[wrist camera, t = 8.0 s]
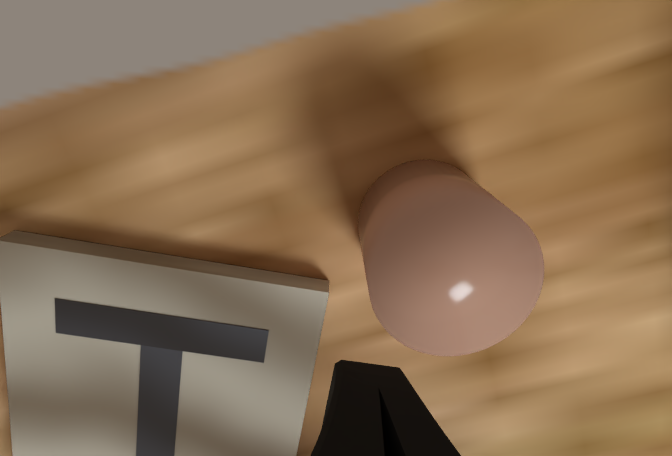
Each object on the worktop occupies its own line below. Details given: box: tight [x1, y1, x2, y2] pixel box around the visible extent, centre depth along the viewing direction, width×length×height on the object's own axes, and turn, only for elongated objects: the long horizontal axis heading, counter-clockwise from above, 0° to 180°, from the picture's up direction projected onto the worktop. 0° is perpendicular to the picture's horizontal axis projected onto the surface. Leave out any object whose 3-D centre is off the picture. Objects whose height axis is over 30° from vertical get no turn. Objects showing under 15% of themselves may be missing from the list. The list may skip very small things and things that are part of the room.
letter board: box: [0, 230, 329, 456], centre depth 19 cm, size 16×12×1 cm
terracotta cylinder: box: [358, 160, 544, 356], centre depth 15 cm, size 5×5×5 cm
